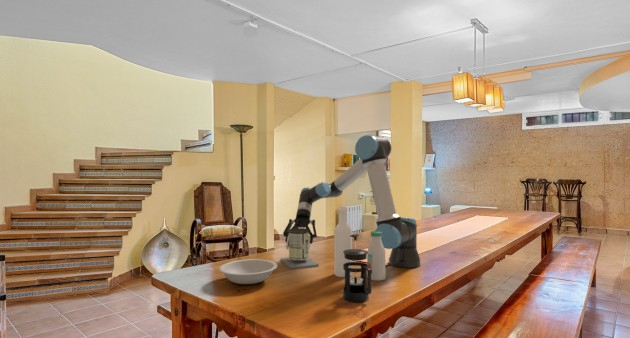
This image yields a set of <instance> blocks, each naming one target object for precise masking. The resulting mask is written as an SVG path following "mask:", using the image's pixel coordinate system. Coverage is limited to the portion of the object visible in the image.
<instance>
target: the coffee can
mask: <svg viewBox="0 0 630 338" xmlns="http://www.w3.org/2000/svg"><path fill="white" fill-rule="evenodd" d="M309 236H310V235H309V229H306V228H294V229H291V228H290V230H289V248H288V258H289V259H291V260H306V259H309V258H310V250H308V248H307V245H308V238H309Z"/></svg>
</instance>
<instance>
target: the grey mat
mask: <svg viewBox="0 0 630 338" xmlns="http://www.w3.org/2000/svg"><path fill="white" fill-rule="evenodd" d="M280 261H281V263H283V264H284V265H285V266H286V267H288V268H289V269H290V270H297V269H306V268H316V267H317V268H318V267H319V266H320V265H319V263H317V262H316V261H315V260H313V259H311V258H310V257H309V259H306V260H291V259H289V257H282V258H281V257H280Z"/></svg>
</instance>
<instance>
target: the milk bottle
mask: <svg viewBox="0 0 630 338" xmlns="http://www.w3.org/2000/svg"><path fill="white" fill-rule="evenodd" d="M381 236H382V233H381V232H379V231H375V230H373V231H371V232H370V237H371V239H370V242H369V244H368V247H367V250H366V251H367V252H368V254H367V258H366V260H367V261H366V264H367V265H368V268H370V269H371V281H375V282H377V281H378V282H379V281H380V282H381V281H384V280H385V279H386V271H387V270H386V248H384V246H383V244H382V241H381ZM367 278H368V271H367Z"/></svg>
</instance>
